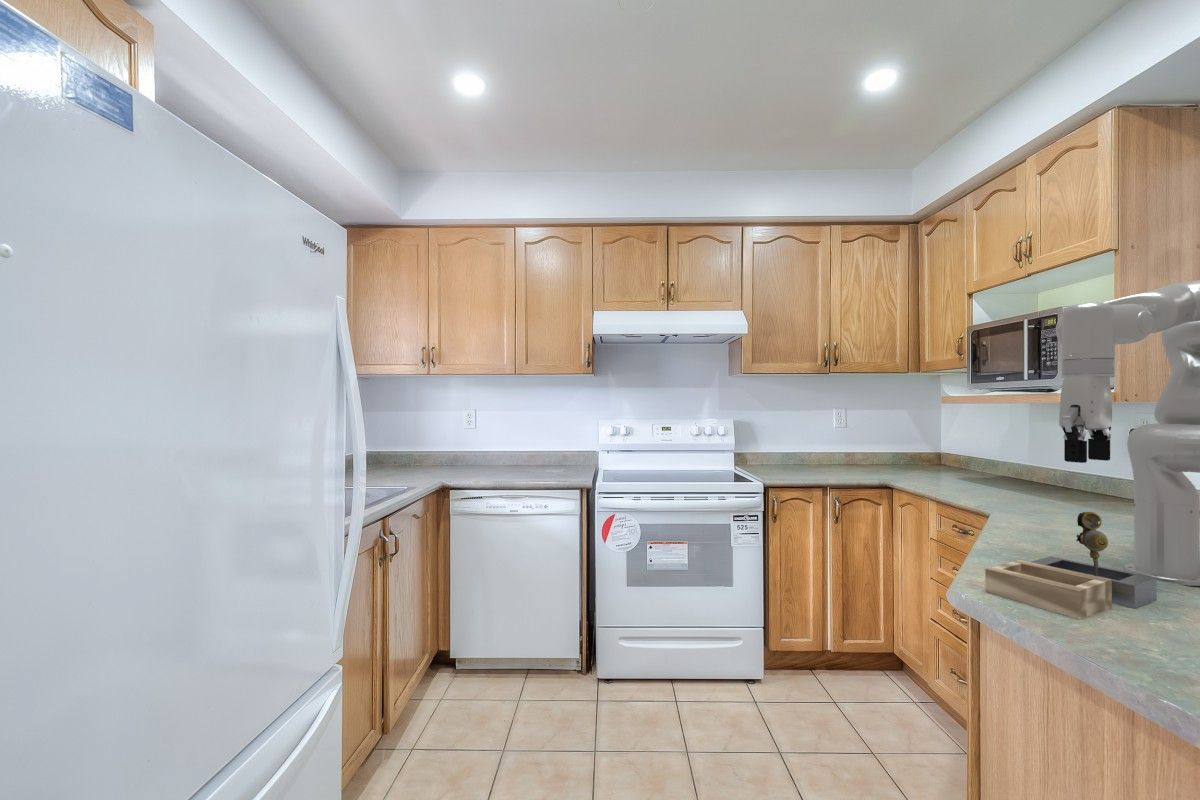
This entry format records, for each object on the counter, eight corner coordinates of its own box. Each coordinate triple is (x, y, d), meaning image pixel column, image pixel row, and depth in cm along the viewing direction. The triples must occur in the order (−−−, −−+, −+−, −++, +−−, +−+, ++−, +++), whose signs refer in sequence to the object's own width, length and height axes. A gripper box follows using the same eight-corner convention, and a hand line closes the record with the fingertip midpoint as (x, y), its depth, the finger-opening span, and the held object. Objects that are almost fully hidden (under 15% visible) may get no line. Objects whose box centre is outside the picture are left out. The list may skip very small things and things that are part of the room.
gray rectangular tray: (1050, 575, 116) (1050, 556, 116) (1156, 599, 102) (1156, 577, 102) (1027, 583, 111) (1027, 562, 111) (1134, 609, 97) (1134, 585, 97)
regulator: (1115, 598, 102) (1114, 515, 102) (1089, 597, 103) (1089, 514, 103) (1088, 585, 110) (1087, 507, 110) (1065, 584, 110) (1064, 507, 110)
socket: (1019, 585, 109) (1018, 559, 109) (1111, 608, 97) (1111, 579, 97) (985, 596, 103) (985, 568, 103) (1079, 622, 91) (1079, 591, 91)
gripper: (1083, 372, 114) (1083, 457, 114) (1041, 369, 105) (1041, 461, 105) (1132, 370, 107) (1132, 460, 107) (1091, 367, 99) (1091, 465, 99)
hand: (1087, 460), depth 106 cm, fingers open, 9 cm apart
